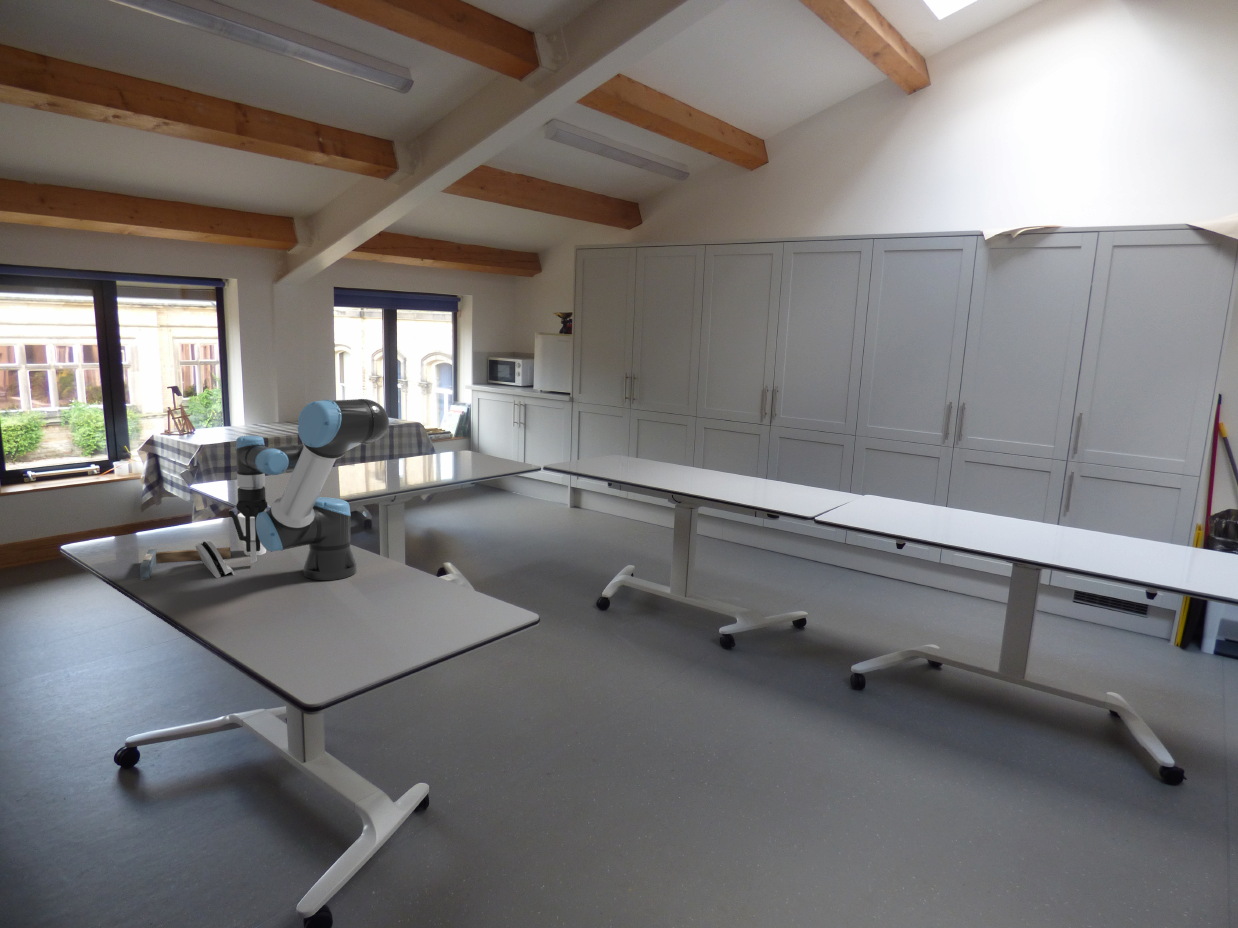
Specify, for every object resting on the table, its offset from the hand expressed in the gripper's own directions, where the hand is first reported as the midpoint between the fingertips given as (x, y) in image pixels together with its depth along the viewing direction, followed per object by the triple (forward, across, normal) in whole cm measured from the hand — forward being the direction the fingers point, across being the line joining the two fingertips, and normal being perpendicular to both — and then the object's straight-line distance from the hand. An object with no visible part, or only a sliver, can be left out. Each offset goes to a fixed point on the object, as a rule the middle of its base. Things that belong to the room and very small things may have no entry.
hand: (253, 561), depth 221 cm
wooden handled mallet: (+2, +18, -4) cm, 18 cm away
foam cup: (+2, 0, -15) cm, 15 cm away
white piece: (+2, +11, 0) cm, 11 cm away
